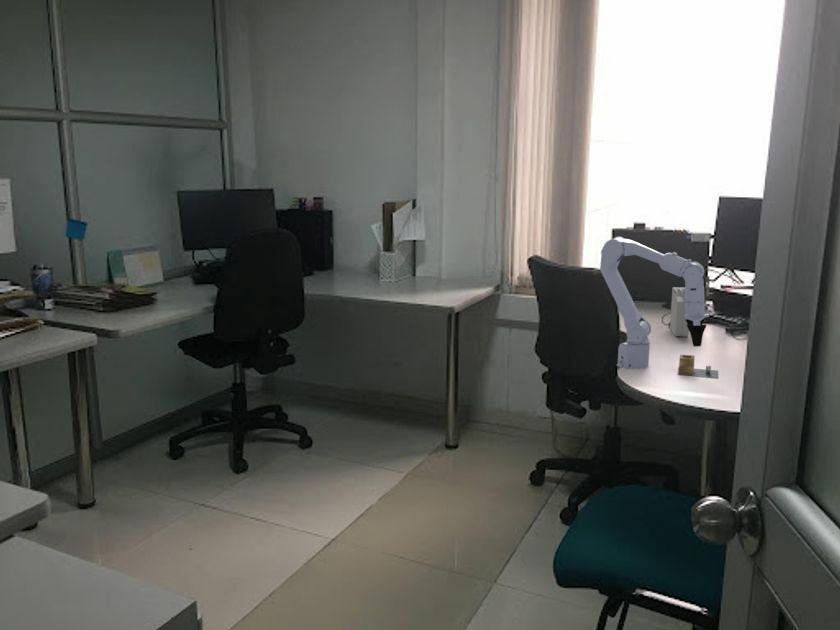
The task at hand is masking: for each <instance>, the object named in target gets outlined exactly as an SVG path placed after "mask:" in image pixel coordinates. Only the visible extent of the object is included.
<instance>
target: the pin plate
mask: <svg viewBox="0 0 840 630" xmlns="http://www.w3.org/2000/svg"><path fill="white" fill-rule="evenodd" d="M677 376H684V377H693V378H694V377H695V378H705V379H716V380H717V379H719V370H715V369H711V373H710V374H706V368H705V369H702V368H694V374H684V373H679V366H678V368H677Z"/></svg>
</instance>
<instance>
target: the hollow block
mask: <svg viewBox="0 0 840 630" xmlns="http://www.w3.org/2000/svg"><path fill="white" fill-rule="evenodd" d="M695 359H696V357H695V355H692V354H679V361H678V362H679V363H678V367H679V373H684V374H694V369H695Z"/></svg>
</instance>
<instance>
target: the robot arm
mask: <svg viewBox="0 0 840 630" xmlns="http://www.w3.org/2000/svg"><path fill="white" fill-rule="evenodd" d="M600 255H601V257H600V264H599V266H600V267H599V269H600V272H601V275H602V277H603V278H604V280H605V283H606V285H607V287H608V289H609V291H610V293H611V296H612V297H613V299H614V301H615V303H616V305H617V307H618V309H619V312H620V313H621V315H622V318H623V323H624V324H623V325H624V327H625V330H626V338H627V339H626V341H625V342H621V343H620V344H618V345H619V346H618V348H617V349H618V350H617V351H618V353H617V364H616V366H617V367H618V368H620V369H622V368H624V369H625V370H629V369H630V370H631V369H646V368H648V367H649V365H650V364H649V363H650V361H649V360H650V345H651V343H650V342H651V341H650V339H649V337H648V336H649V335H650V333H651V331H652V325H651V324H650V323H649V321H647V320H646V319H645V318H644V316H643V315H642V313H641V312H640V311H639V310H638V308H637V306H636V304H635V302H634V300H633V298H632V296H631V294H630V292H629V290H628V288H627V286H626V283H625V282H624V280H623V278H622V275H621V273H620V272H619V269H618V266H620V265H619V264H620V262H621V260H622V258H623V256H624V257H629V256H637V257H640V258H643V259H646V260H648V261H651V262H654V263H656V264H658V265H659V267H660V269H661V270H662V271H664V272H667V273H670V274H673V276H674V275H675V276H677V277H680V278H681V277H682V278H683V279H684V288H685V310H686V315H685V318H686V319H685V320H686V322H687V327H688V329H689V334H690V338H691V342H692V346H693V347H701V346H702V341H703V337H704V336H703V335H704V332H705V330H706V328H707V324H704V321H705V318H710V314H709V313H706V304H705V301H706V300H705V299H706V297H705V286H704V284H705V283H704V282H705V281H704V278H703V277H704V275H705V268H704V266H703V265H702V264H701V263H699V262H698V261H693V259H690V258H688V259H686V258H683V257H681V256H679V255H678V253H677V252H675V251H674V252H667V253H665V254H664V253H661V252H660V251H659V252H658V251H657V250H655V249H653V248H650V247H648V246H646V245H643V244H641V243H639V242H637V241H634V240H632V239H631V238H630V239H628V238H624V237H623V236H615V237H613V238H612V239H609V240H607V241H606V242H605V243H604V245H603V246H602V249H601V251H600Z"/></svg>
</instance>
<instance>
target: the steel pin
mask: <svg viewBox="0 0 840 630" xmlns="http://www.w3.org/2000/svg"><path fill="white" fill-rule="evenodd" d="M705 370H706V374H710V373H711V370H712V365H706V366H705Z"/></svg>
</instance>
